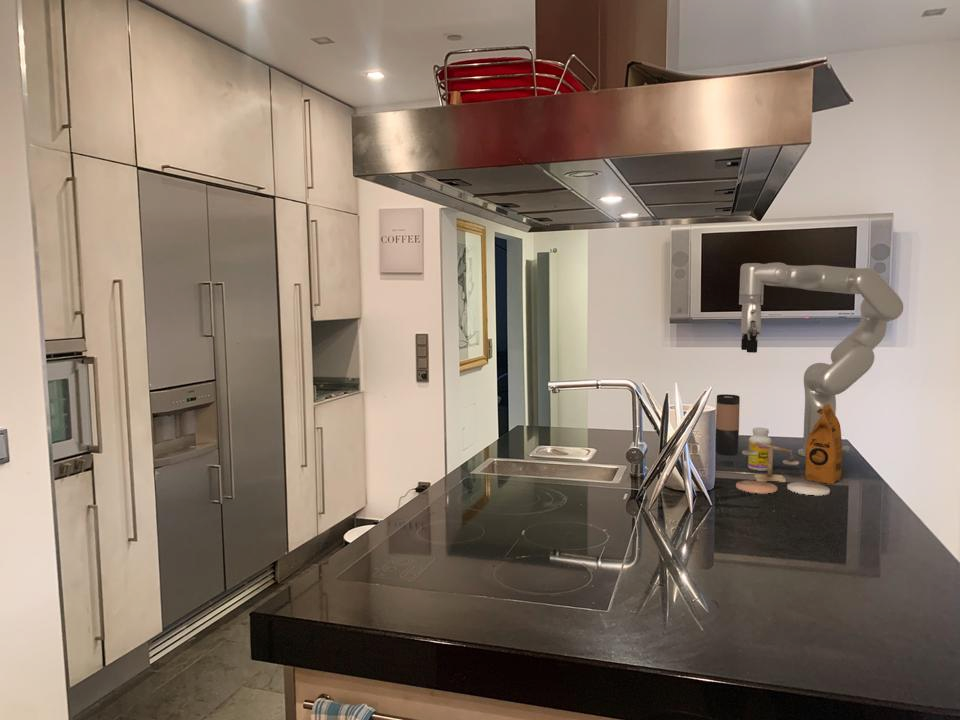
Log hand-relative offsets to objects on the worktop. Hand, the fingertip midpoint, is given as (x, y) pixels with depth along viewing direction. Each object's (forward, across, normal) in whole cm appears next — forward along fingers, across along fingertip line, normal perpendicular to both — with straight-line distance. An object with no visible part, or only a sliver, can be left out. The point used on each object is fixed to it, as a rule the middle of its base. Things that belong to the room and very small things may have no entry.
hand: (748, 351), depth 240 cm
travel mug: (+36, +2, +6) cm, 36 cm away
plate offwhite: (+36, -42, -10) cm, 56 cm away
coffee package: (+36, -28, -17) cm, 49 cm away
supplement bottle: (+36, -19, -1) cm, 41 cm away
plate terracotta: (+36, -42, +4) cm, 55 cm away
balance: (+36, -32, -1) cm, 48 cm away
